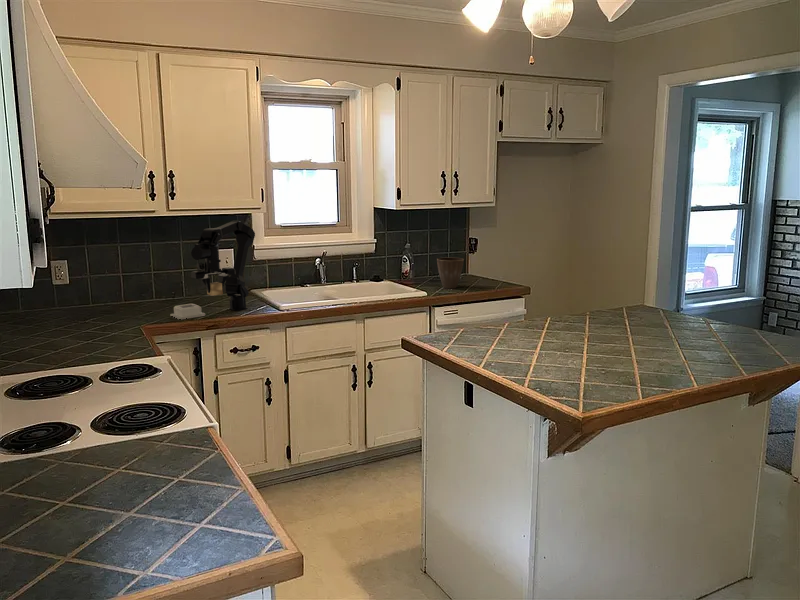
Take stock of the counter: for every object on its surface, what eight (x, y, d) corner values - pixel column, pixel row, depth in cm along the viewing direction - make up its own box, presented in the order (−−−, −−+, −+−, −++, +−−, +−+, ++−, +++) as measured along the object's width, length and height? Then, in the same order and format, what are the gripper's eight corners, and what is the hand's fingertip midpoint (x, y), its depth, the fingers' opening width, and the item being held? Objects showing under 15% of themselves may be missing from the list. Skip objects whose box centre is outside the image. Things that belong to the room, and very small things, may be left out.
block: (217, 292, 290) (216, 282, 289) (222, 294, 286) (221, 283, 285) (207, 294, 287) (206, 283, 286) (212, 295, 283) (211, 284, 282)
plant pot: (450, 284, 366) (451, 256, 363) (469, 287, 355) (469, 258, 352) (431, 287, 357) (431, 258, 354) (449, 290, 346) (449, 261, 343)
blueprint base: (196, 312, 297) (195, 302, 296) (205, 315, 290) (204, 305, 289) (170, 316, 289) (169, 306, 288) (179, 319, 282) (178, 309, 281)
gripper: (223, 254, 295) (225, 287, 298) (184, 257, 283) (187, 292, 286) (234, 256, 287) (237, 290, 290) (195, 259, 275) (197, 295, 278)
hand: (214, 292), depth 286 cm, fingers closed on block, 5 cm apart
